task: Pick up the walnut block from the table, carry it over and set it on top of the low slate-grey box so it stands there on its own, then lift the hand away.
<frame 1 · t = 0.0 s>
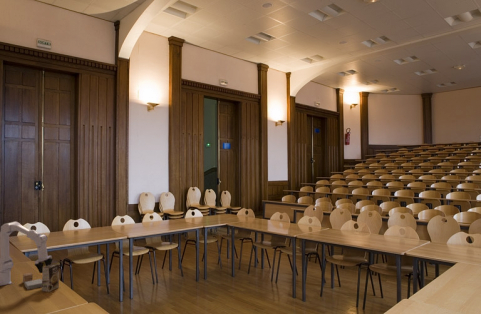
hand: (45, 271, 248), 11 cm above the table, tool pointing down, fingers open, 7 cm apart
walnut block: (27, 282, 255), on the table
coffee box: (50, 289, 243), on the table
grey box: (34, 286, 248), on the table
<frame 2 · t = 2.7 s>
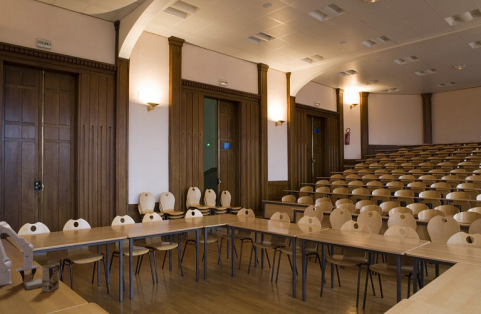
hand: (27, 280, 255), 2 cm above the table, tool pointing down, fingers closed on walnut block, 5 cm apart
walnut block: (27, 282, 255), on the table, touching gripper
everything else where it was.
when the fingers open (6 cm above the table, at t = 6.2 s): walnut block drops 2 cm, resting on grey box.
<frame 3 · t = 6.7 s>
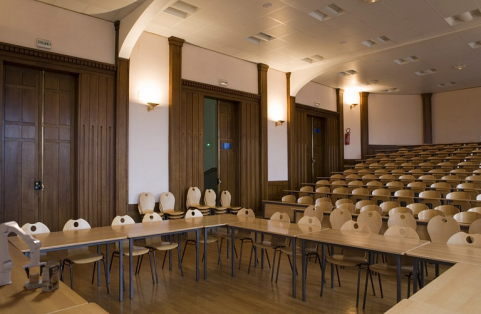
hand: (34, 277, 248), 6 cm above the table, tool pointing down, fingers open, 7 cm apart
walnut block: (34, 282, 248), point 2 cm above the table, touching grey box
grey box: (34, 286, 248), on the table, touching walnut block
everything else where it was.
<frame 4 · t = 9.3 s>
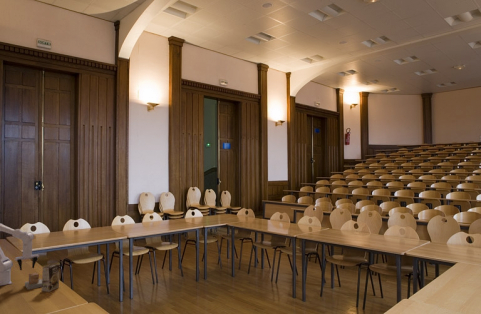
hand: (27, 268, 253), 10 cm above the table, tool pointing down, fingers open, 7 cm apart
nothing on the table moved.
at the end: walnut block 0.7 cm off-centre on the grey box, point 3.0 cm above the grey box's base; walnut block tilted 0°; the gripper is holding nothing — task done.
